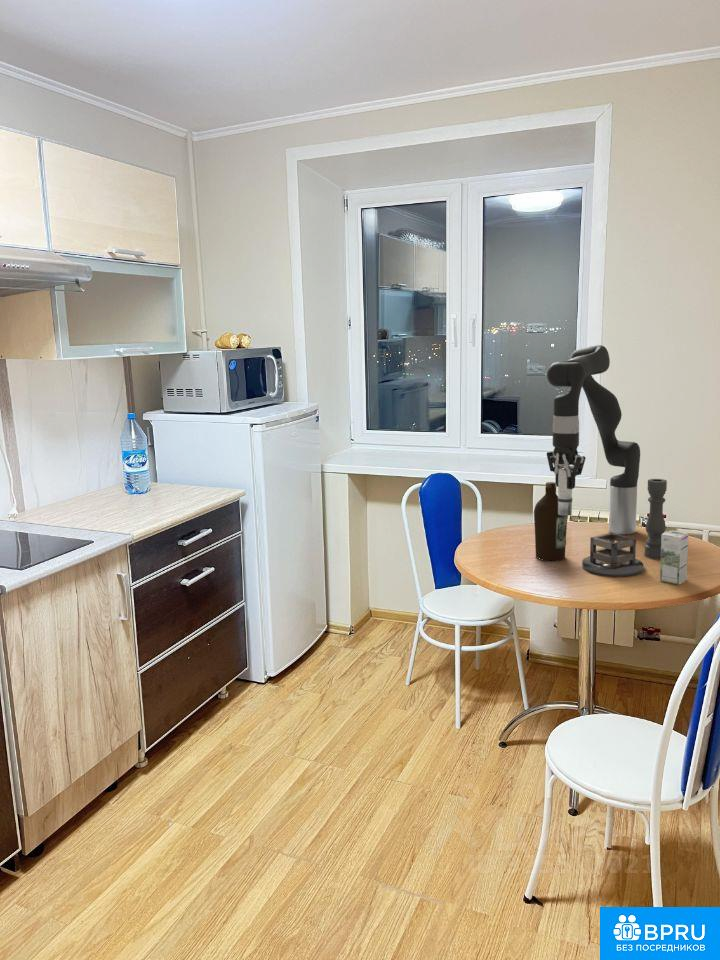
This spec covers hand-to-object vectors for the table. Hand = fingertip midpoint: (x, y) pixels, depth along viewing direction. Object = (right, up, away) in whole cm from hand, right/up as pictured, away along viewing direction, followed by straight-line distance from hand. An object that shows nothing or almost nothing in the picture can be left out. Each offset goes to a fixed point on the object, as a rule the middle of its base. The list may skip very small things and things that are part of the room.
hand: (565, 487), depth 214 cm
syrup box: (+30, -27, -5) cm, 41 cm away
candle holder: (+34, -23, +18) cm, 45 cm away
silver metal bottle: (0, -8, +2) cm, 8 cm away
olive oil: (+1, -23, +22) cm, 32 cm away
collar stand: (+17, -25, +9) cm, 32 cm away
